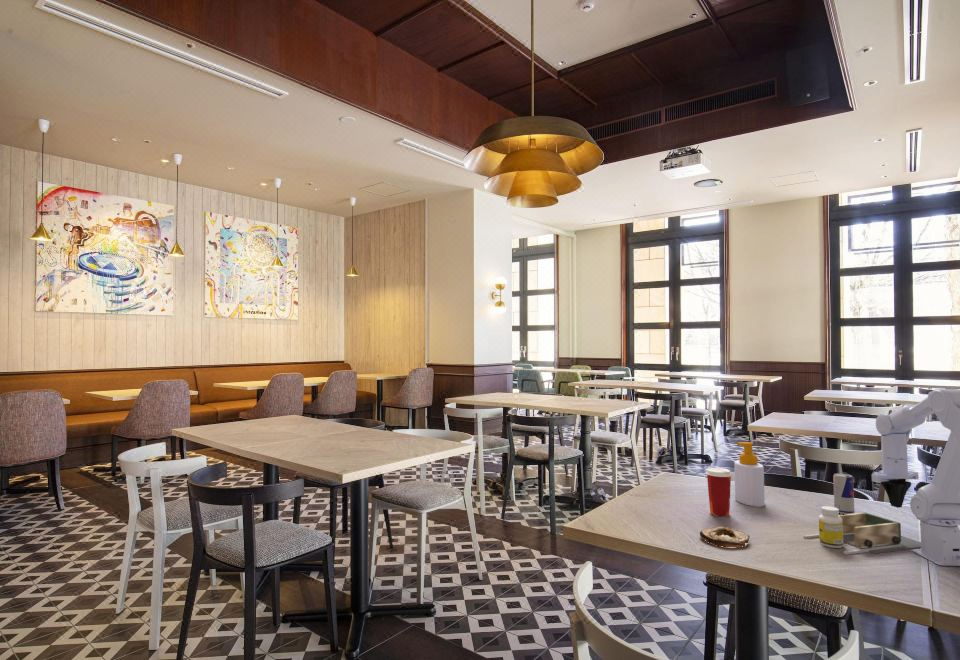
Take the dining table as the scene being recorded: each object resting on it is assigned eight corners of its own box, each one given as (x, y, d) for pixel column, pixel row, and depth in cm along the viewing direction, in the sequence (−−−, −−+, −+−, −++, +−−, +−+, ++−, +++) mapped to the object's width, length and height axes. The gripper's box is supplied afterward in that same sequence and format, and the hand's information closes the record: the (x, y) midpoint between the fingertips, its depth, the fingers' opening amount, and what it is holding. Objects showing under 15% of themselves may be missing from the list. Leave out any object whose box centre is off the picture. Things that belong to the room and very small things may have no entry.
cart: (862, 528, 156) (861, 511, 156) (905, 543, 144) (904, 524, 144) (820, 533, 152) (820, 515, 152) (861, 548, 140) (861, 529, 140)
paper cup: (738, 515, 171) (737, 471, 172) (719, 518, 168) (718, 473, 169) (719, 509, 179) (718, 466, 179) (701, 512, 176) (700, 468, 176)
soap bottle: (729, 496, 194) (728, 439, 195) (752, 496, 193) (751, 439, 194) (746, 507, 181) (744, 446, 181) (771, 507, 180) (769, 446, 181)
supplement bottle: (821, 540, 149) (819, 504, 150) (844, 544, 146) (843, 507, 146) (818, 545, 145) (816, 508, 145) (842, 550, 142) (841, 512, 142)
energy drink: (857, 515, 170) (856, 477, 171) (838, 514, 172) (837, 476, 172) (849, 510, 176) (848, 473, 176) (831, 510, 177) (830, 473, 177)
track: (873, 527, 159) (873, 525, 159) (930, 546, 144) (930, 544, 144) (799, 536, 152) (799, 533, 152) (851, 556, 137) (851, 554, 137)
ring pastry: (684, 535, 155) (684, 520, 155) (729, 531, 158) (729, 516, 159) (718, 554, 140) (718, 537, 141) (767, 549, 144) (767, 533, 144)
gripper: (900, 453, 158) (901, 500, 157) (860, 456, 154) (862, 504, 153) (925, 458, 151) (927, 507, 150) (884, 461, 147) (886, 511, 147)
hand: (896, 506), depth 151 cm, fingers closed
